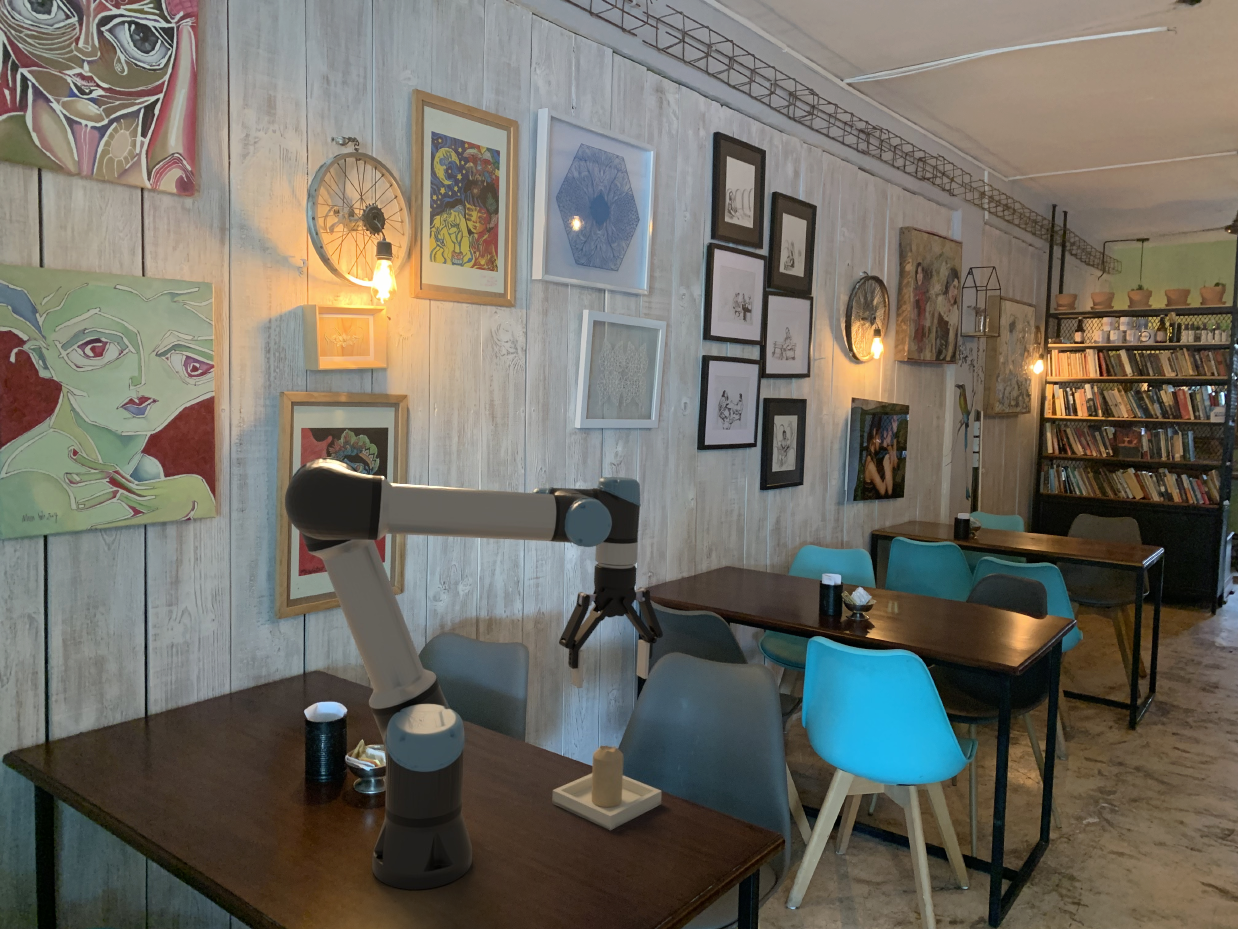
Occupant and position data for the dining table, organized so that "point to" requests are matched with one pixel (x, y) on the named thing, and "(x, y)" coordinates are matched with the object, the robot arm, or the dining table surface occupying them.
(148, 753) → the dining table surface
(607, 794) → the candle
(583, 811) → the dish
